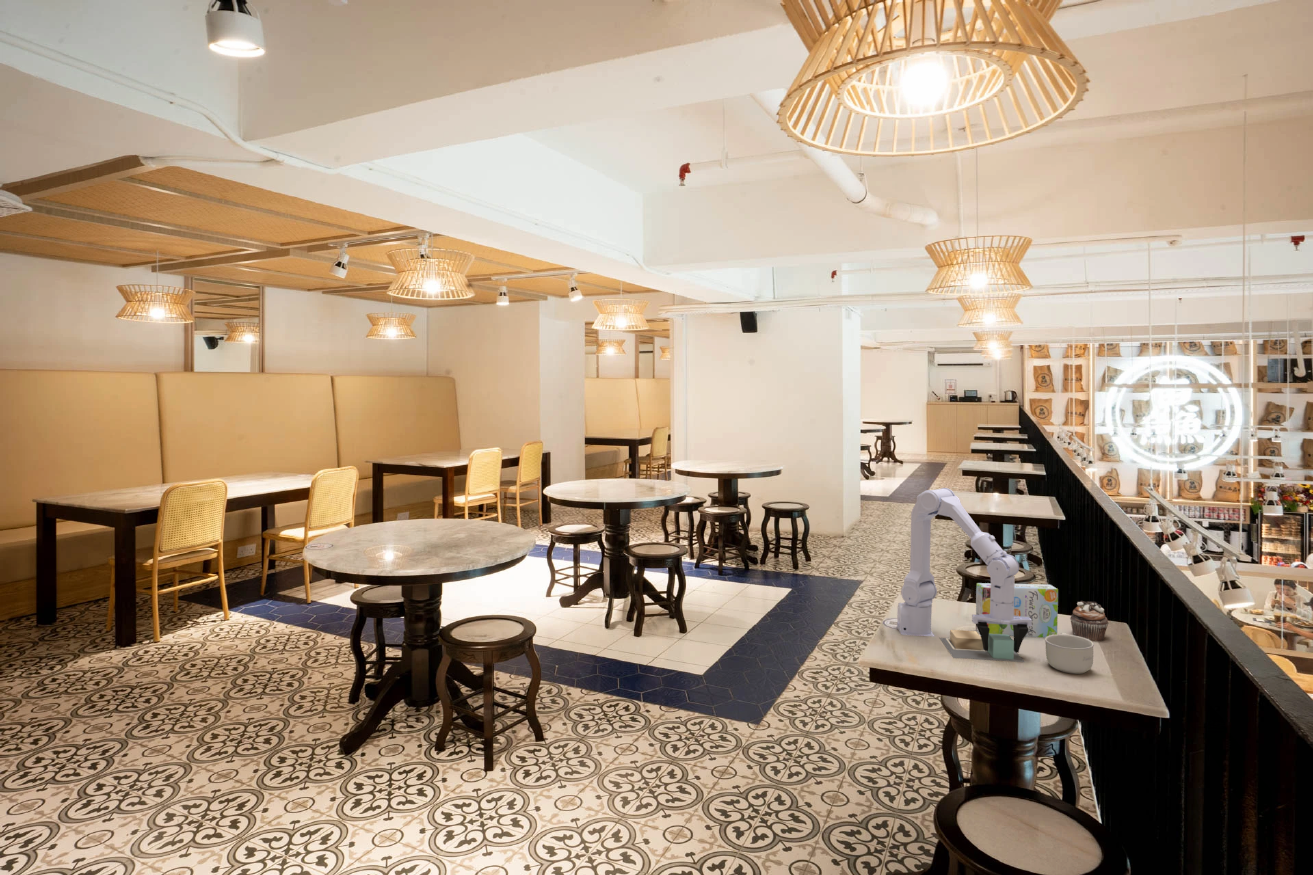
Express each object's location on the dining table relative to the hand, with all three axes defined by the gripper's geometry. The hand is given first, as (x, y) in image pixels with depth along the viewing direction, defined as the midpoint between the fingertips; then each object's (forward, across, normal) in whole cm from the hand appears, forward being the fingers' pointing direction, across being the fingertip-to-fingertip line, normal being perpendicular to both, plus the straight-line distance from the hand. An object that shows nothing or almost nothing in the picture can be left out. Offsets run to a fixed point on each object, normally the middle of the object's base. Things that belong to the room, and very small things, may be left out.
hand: (1000, 650), depth 190 cm
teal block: (+1, 0, 0) cm, 1 cm away
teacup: (+2, +15, -5) cm, 16 cm away
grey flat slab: (+2, -4, +4) cm, 6 cm away
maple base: (+1, -7, +7) cm, 10 cm away
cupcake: (+2, +31, +23) cm, 39 cm away
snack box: (+2, +10, +20) cm, 22 cm away
